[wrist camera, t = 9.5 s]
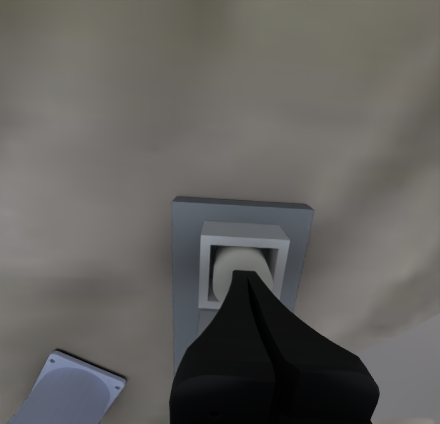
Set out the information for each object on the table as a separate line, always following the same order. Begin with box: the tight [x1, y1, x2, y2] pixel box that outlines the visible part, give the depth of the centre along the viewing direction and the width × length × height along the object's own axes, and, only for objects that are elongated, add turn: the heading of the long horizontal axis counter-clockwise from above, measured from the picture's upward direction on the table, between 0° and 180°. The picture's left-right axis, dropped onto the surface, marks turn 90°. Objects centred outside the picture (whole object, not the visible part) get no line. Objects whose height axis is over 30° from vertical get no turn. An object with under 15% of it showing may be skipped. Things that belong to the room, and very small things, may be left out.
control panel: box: [172, 197, 314, 378], centre depth 17 cm, size 24×10×4 cm, turn 177°
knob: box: [213, 245, 273, 303], centre depth 14 cm, size 4×4×4 cm
